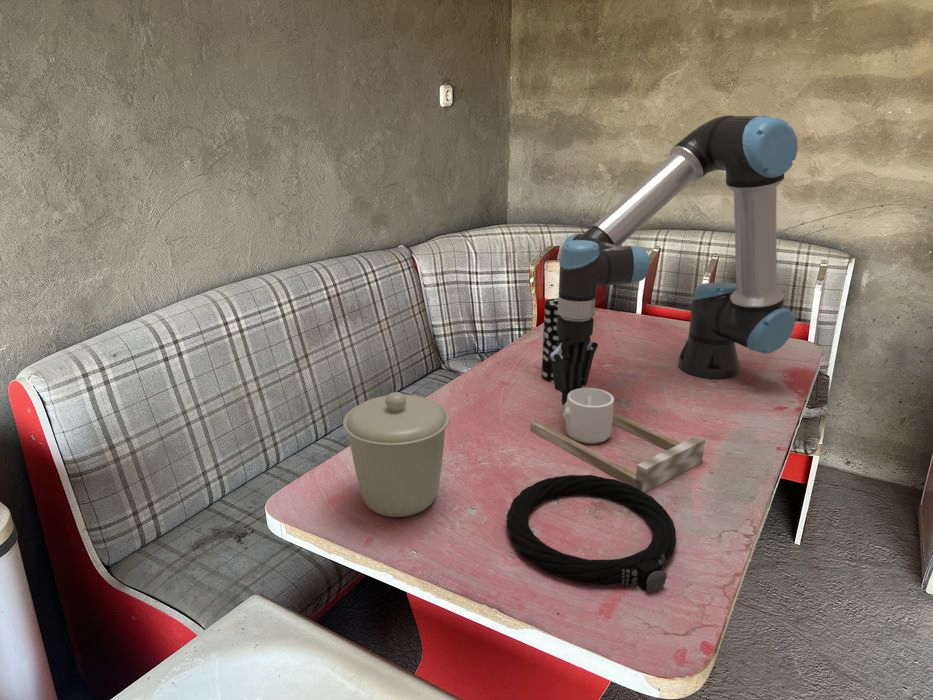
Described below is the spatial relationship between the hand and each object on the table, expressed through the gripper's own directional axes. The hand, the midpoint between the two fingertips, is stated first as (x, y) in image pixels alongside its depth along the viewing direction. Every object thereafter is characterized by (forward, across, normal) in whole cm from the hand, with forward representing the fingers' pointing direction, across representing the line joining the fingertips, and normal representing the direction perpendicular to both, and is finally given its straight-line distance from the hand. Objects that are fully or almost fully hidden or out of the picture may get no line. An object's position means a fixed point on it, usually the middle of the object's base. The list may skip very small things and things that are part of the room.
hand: (569, 417), depth 145 cm
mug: (+2, 0, +5) cm, 6 cm away
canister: (+2, +45, +3) cm, 46 cm away
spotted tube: (+2, -16, -20) cm, 26 cm away
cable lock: (+2, +25, +31) cm, 40 cm away
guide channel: (+1, 0, +12) cm, 12 cm away
